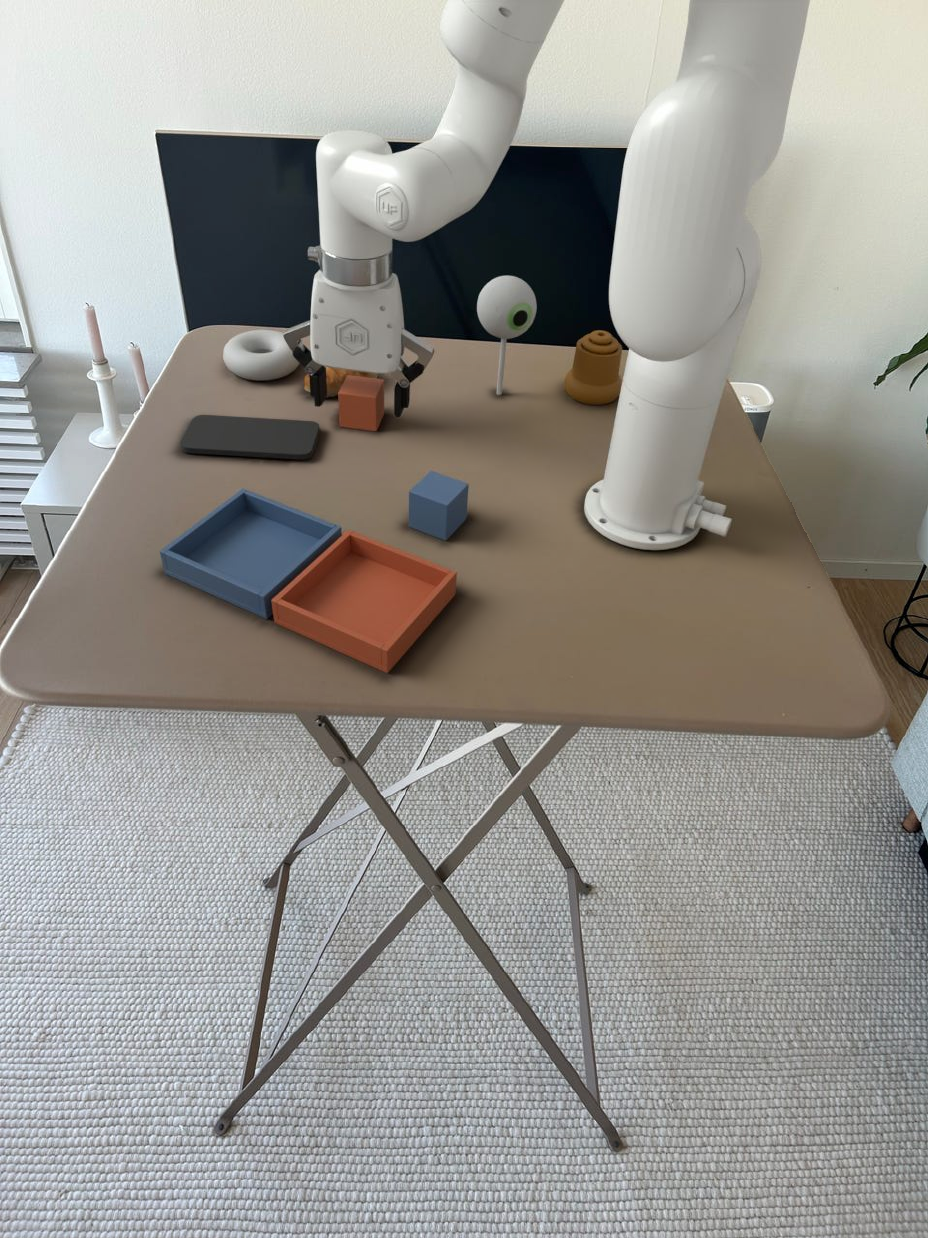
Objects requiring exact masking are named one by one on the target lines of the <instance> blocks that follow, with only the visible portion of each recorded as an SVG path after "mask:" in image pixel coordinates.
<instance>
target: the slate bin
mask: <svg viewBox="0 0 928 1238" xmlns="http://www.w3.org/2000/svg"><path fill="white" fill-rule="evenodd" d="M342 535H343V533H342V526H341V525H336V524H335V523H333V522H330V521H327V520H325V519H322V518H320V517H317V516H315V515H312V514H310V513H308V512H304V511H302V510H301V509H300V510H299V509H297V508H294V507H292V506H289V505H287V504H284V503H281V502H279V501H276V500H274V499H272V498H269V497H266V496H264V495H261V494H258V493H256V492H253V491H251V490H248V489H247V488H243V487H242V488H241V489H239V490H238V491H237V492H236V493H235V494H233V495H232V496H231V497H229V498H228V499H227V500H226V501H224V502H223V503H221V504H220V505H219V506H217V507H216V508H215V509H214V510H212V511H210V512H209V513H208V514H207V515H205V516H204V517H203V518H201V519H200V520H199V521H198V522H196V523H195V524H193V525H192V526H191V527H189V528H188V529H187V530H185V531H184V532H183V533H182V534H180V535H179V536H177V538H175V539H174V540H172V541H171V542H170V543H168V544H167V545H166V546H165V547H162V549H160V550H159V555H160V560H161V563H162V568H163V571H164V575H167V576H169V577H171V578H174V579H176V580H178V581H180V582H182V583H185V584H187V585H189V586H192V587H194V588H196V589H198V590H201V591H203V592H205V593H207V594H210V595H212V596H214V597H216V598H219V599H220V600H223V601H225V602H227V603H230V604H232V605H234V606H236V607H238V608H241V609H243V610H244V611H247V612H250V613H252V614H254V615H256V616H259V617H261V618H263V619H265V620H268V619H269V618H270V617H272V616H273V609H272V602H271V600H272V599H273V598H274V597H275V596H276V595H278V594H279V593H280V592H281V591H282V590H283V589H284V588H285V587H286V586H287V585H288V584H290V583H291V582H292V581H293V580H294V579H295V578H296V577H297V576H298V575H299V574H300V573H302V572H303V571H304V570H305V569H306V568H307V567H308V566H309V565H310V564H311V563H313V562H314V561H315V560H316V559H317V558H318V557H319V556H320V555H321V554H322V553H323V552H325V551H326V550H327V549H328V548H329V547H330V546H331V545H332V544H333V543H334V542H335V541H337V540H338V539H339V538H340V537H341V536H342Z"/></svg>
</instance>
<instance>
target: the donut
mask: <svg viewBox="0 0 928 1238" xmlns="http://www.w3.org/2000/svg"><path fill="white" fill-rule="evenodd" d="M284 334H285V332H281V331H278V330H271V329H255V330H254V329H253V330H249V331H245V332H241V333H238V334H237V335H235V336H233V337H232V338H230V339H229V341H228V342H227V343H226V344H225V345H224V348H223V353H222V360H223V363H224V364H225V366H226V368H227V369H228V370H229V371H230V372H232V373H233V374H234V375H235V376H237V377H238V378H239V377H240V378H243V379H245V380H250V381H273V380H278V379H282V378H284V377H286V376H288V375H290V374H292V373H293V372H294V371H295V370H297V368H298V367H299V365H300V363H299V362H298V361H297V360H296V359H295V358H294V357H293V352H292V350H290V348H289V346H288V345H287V343H286V341H285V339H284V337H283V335H284Z"/></svg>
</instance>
